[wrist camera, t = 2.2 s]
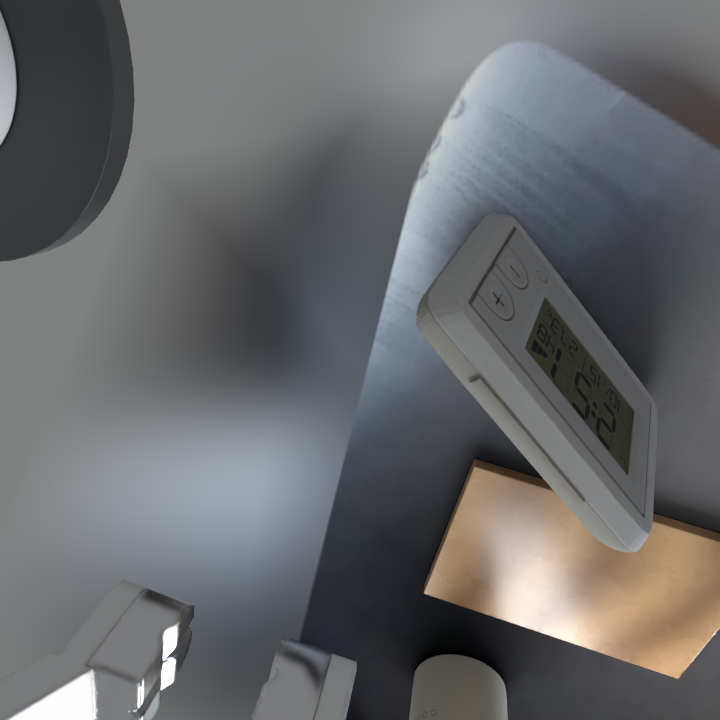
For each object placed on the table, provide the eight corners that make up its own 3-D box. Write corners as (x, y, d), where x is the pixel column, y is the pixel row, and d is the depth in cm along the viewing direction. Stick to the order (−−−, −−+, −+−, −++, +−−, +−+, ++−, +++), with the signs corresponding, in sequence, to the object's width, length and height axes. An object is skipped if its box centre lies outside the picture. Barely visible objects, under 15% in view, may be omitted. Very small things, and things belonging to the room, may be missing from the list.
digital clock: (658, 416, 31) (739, 538, 22) (518, 462, 34) (535, 586, 25) (554, 174, 27) (597, 194, 17) (407, 253, 30) (376, 306, 21)
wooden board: (424, 583, 41) (423, 593, 40) (474, 457, 35) (474, 466, 34) (673, 666, 39) (678, 679, 38) (769, 548, 33) (777, 559, 32)
